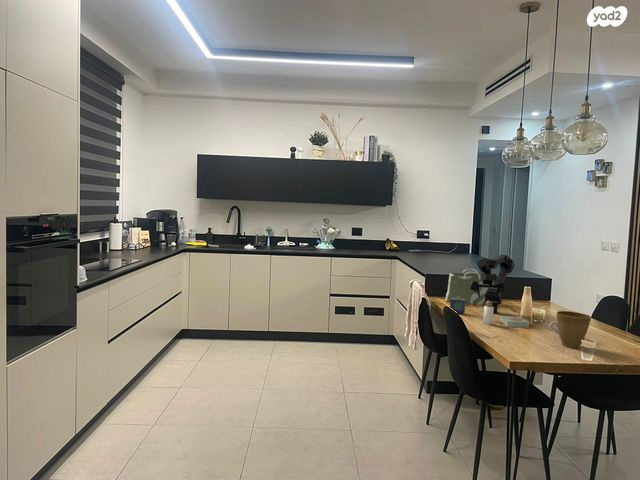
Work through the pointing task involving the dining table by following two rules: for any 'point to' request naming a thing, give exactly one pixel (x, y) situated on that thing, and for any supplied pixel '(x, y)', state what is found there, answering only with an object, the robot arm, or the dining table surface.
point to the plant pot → (572, 327)
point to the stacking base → (514, 321)
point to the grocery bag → (466, 287)
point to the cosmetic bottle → (488, 313)
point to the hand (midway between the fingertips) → (487, 298)
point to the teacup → (556, 328)
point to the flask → (458, 305)
